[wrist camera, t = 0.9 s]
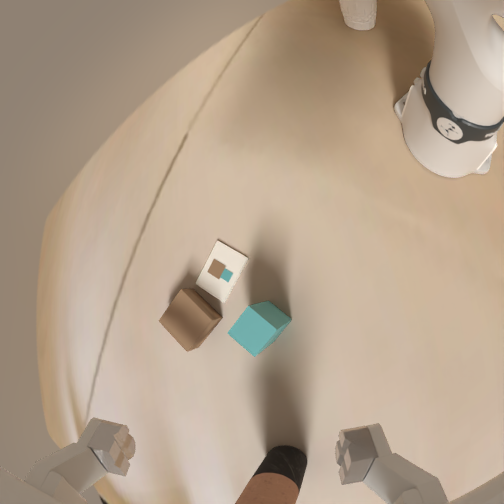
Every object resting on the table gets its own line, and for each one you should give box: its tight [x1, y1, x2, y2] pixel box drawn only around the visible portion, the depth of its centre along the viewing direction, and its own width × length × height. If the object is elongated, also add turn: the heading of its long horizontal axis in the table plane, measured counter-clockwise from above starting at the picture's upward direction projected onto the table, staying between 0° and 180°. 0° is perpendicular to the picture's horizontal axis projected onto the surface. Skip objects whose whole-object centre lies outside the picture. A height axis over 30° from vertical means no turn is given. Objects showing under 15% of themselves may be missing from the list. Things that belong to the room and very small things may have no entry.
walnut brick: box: [159, 289, 223, 352], centre depth 45 cm, size 7×7×4 cm
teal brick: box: [228, 301, 292, 357], centre depth 38 cm, size 4×4×9 cm
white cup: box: [339, 0, 377, 30], centre depth 36 cm, size 8×8×10 cm
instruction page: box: [195, 240, 249, 303], centre depth 45 cm, size 8×6×1 cm
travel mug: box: [235, 446, 307, 504], centre depth 29 cm, size 8×8×20 cm
